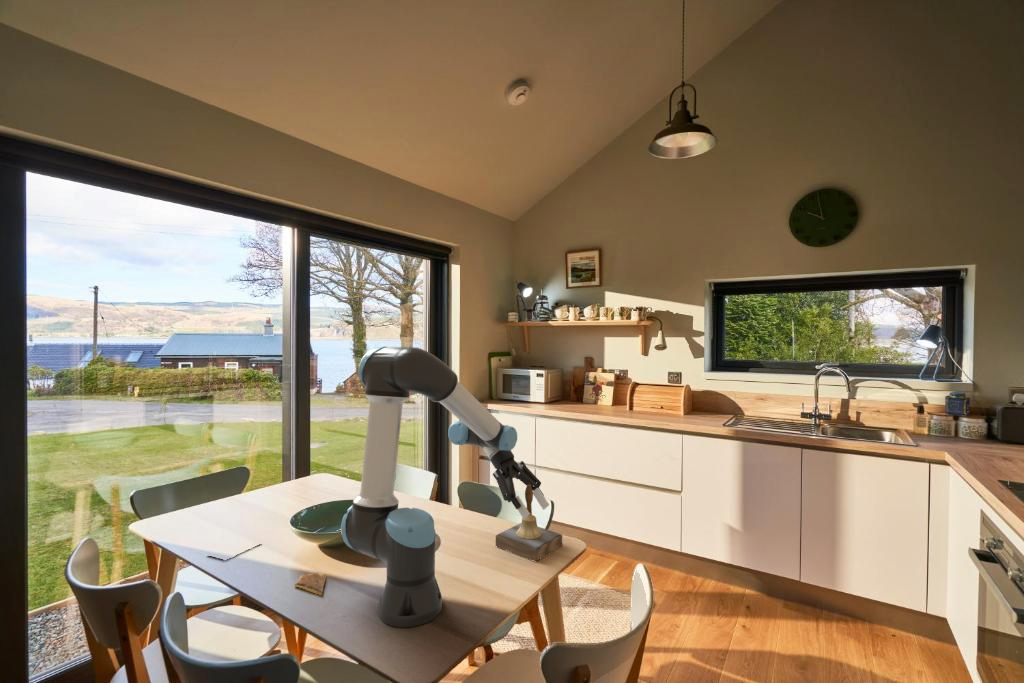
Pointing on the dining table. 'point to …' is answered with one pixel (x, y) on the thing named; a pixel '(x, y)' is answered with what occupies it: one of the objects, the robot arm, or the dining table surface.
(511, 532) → the walnut stand
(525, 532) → the hand bell
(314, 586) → the shard
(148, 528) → the dining table surface
